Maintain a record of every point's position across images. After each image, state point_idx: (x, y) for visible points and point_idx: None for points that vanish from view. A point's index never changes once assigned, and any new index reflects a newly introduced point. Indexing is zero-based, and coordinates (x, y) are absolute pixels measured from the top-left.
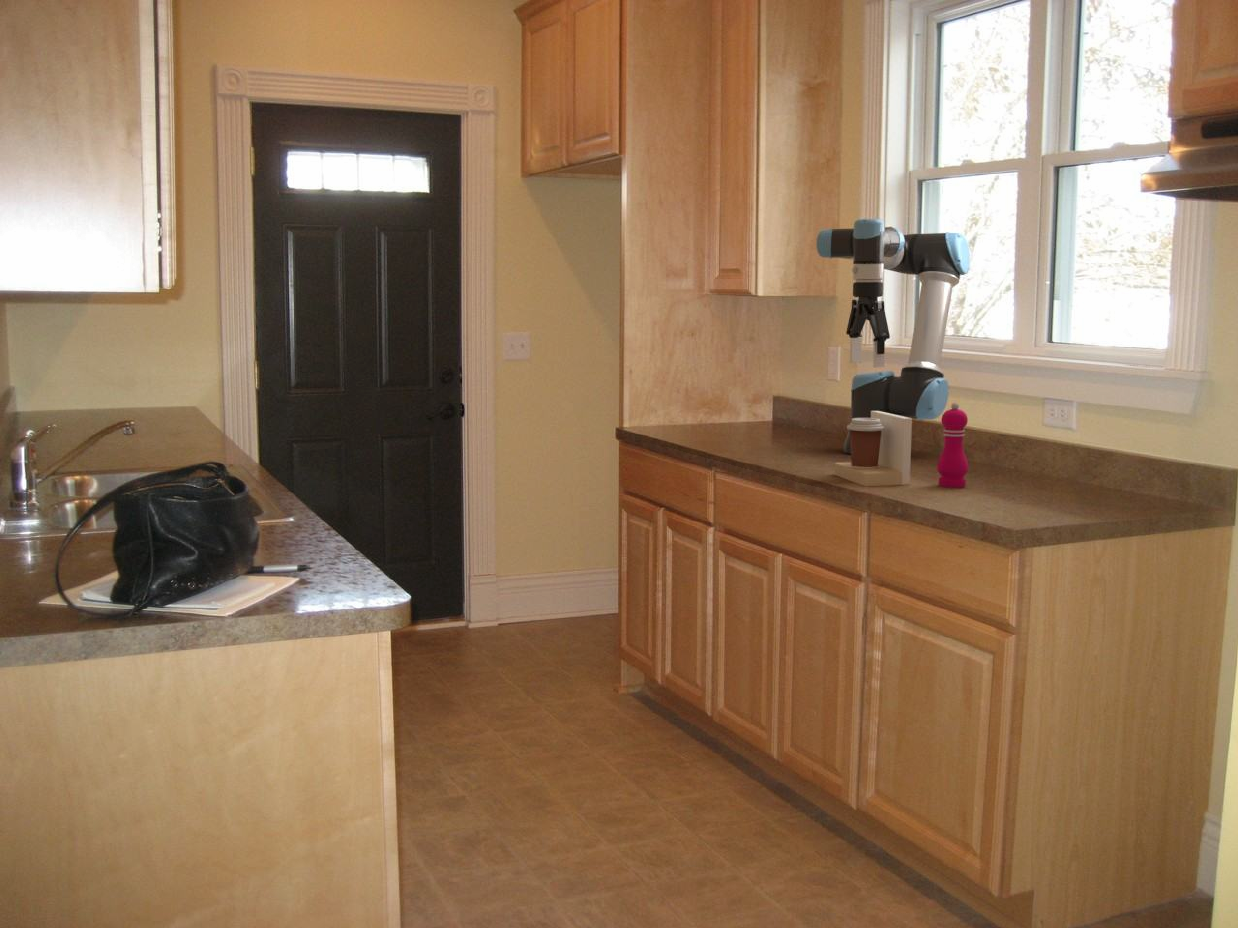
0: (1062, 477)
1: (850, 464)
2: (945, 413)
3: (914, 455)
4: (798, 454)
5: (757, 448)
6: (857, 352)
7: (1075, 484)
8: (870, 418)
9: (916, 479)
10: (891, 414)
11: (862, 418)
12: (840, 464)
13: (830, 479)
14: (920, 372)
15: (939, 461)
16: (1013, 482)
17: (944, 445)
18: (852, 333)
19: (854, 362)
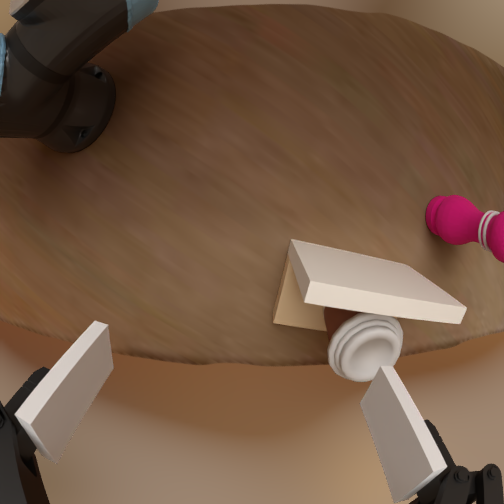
0: (426, 29)
1: (302, 309)
2: None
3: (132, 51)
4: (56, 232)
5: (11, 253)
6: (83, 377)
7: (471, 69)
8: (367, 342)
9: (377, 220)
10: (401, 305)
11: (353, 355)
12: (294, 324)
13: (309, 341)
14: None
15: (454, 243)
16: (447, 113)
17: (471, 239)
18: (41, 481)
19: (110, 357)
